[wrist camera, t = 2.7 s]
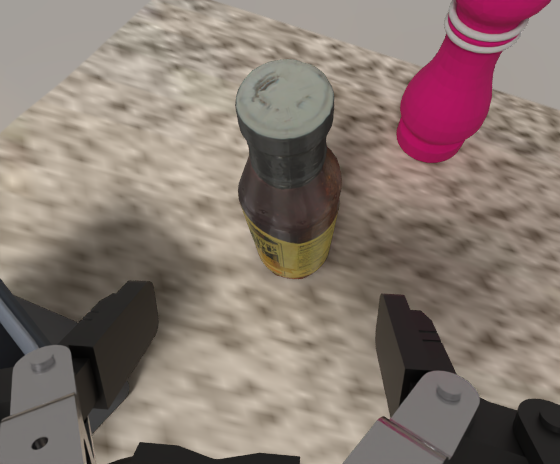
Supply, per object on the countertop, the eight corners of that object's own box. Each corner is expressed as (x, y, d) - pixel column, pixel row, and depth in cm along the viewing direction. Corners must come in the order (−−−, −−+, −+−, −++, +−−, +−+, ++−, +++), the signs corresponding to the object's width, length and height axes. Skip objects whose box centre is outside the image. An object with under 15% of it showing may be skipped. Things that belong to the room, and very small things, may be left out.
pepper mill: (482, 141, 36) (663, -112, 18) (427, 181, 35) (561, -47, 17) (428, 96, 39) (538, -167, 20) (375, 132, 37) (442, -113, 19)
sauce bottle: (252, 227, 34) (190, 47, 16) (317, 210, 35) (328, 13, 16) (269, 295, 32) (218, 172, 14) (339, 276, 32) (382, 129, 14)
